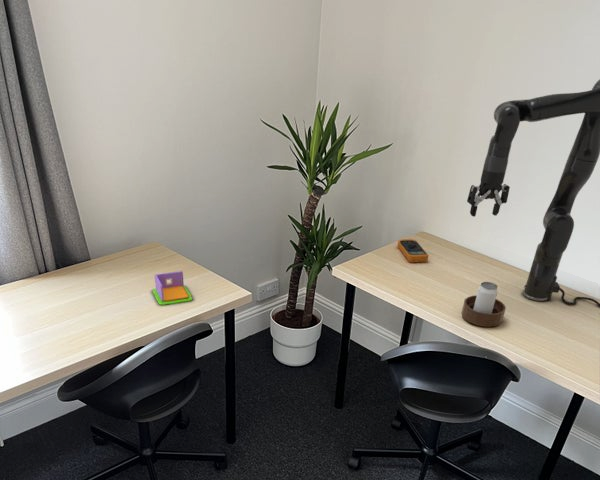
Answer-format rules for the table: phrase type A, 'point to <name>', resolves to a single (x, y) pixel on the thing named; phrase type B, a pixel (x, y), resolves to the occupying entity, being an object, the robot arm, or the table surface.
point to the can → (486, 298)
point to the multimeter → (412, 250)
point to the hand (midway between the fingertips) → (483, 215)
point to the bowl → (483, 318)
